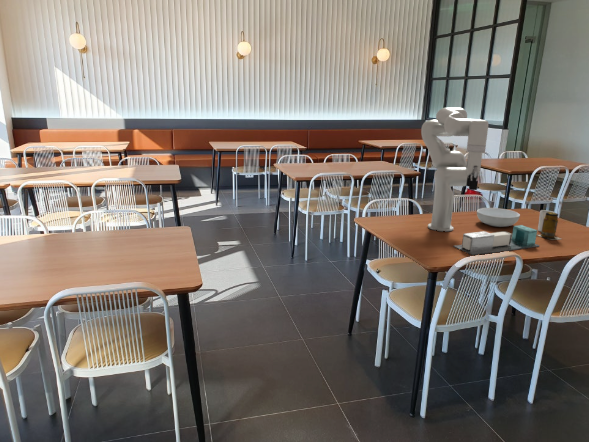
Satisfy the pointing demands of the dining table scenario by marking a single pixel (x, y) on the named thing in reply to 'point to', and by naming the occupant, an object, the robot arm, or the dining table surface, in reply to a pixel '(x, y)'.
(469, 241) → the white rectangular stick
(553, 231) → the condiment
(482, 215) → the serving bowl
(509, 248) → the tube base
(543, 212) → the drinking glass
